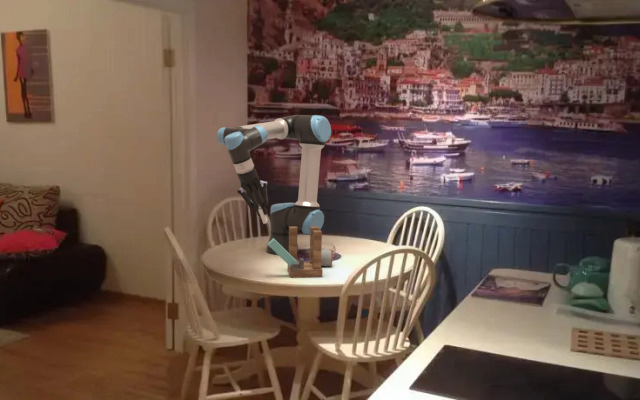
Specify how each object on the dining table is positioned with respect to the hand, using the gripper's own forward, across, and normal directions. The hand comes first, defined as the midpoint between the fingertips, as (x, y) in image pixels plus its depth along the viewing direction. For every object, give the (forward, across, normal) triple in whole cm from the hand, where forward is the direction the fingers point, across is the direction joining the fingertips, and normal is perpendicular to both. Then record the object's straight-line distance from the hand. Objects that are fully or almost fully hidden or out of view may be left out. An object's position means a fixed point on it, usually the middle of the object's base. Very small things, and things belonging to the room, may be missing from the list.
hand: (265, 221), depth 255 cm
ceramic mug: (+30, +14, +9) cm, 34 cm away
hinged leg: (+19, +8, -8) cm, 23 cm away
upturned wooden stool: (+25, +9, -4) cm, 27 cm away
